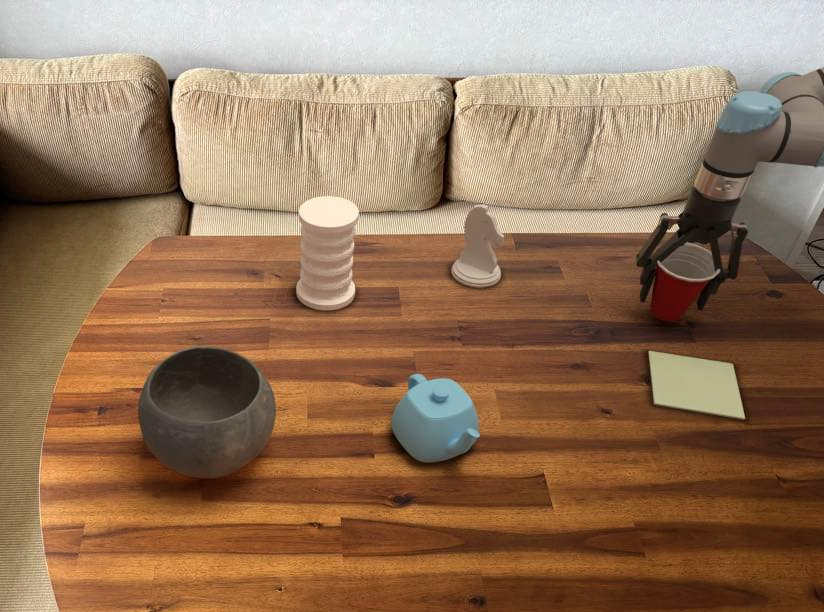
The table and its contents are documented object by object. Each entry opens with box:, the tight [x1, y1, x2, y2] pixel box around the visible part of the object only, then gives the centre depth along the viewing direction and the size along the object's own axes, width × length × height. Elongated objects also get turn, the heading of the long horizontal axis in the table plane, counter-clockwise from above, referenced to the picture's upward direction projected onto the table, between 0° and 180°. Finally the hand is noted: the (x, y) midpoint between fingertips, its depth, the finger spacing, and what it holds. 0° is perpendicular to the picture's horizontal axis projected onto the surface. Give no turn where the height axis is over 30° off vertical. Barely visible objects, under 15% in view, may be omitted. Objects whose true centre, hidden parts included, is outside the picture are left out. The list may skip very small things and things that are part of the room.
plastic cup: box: [649, 242, 720, 322], centre depth 140 cm, size 11×11×12 cm
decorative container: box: [295, 195, 360, 311], centre depth 145 cm, size 12×12×18 cm
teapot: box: [390, 373, 481, 463], centre depth 119 cm, size 13×11×18 cm
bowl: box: [137, 345, 277, 479], centre depth 116 cm, size 20×20×15 cm
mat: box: [647, 350, 746, 421], centre depth 132 cm, size 14×14×1 cm
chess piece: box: [450, 203, 505, 289], centre depth 151 cm, size 10×10×15 cm
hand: (670, 302), depth 142 cm, fingers closed on plastic cup, 9 cm apart
